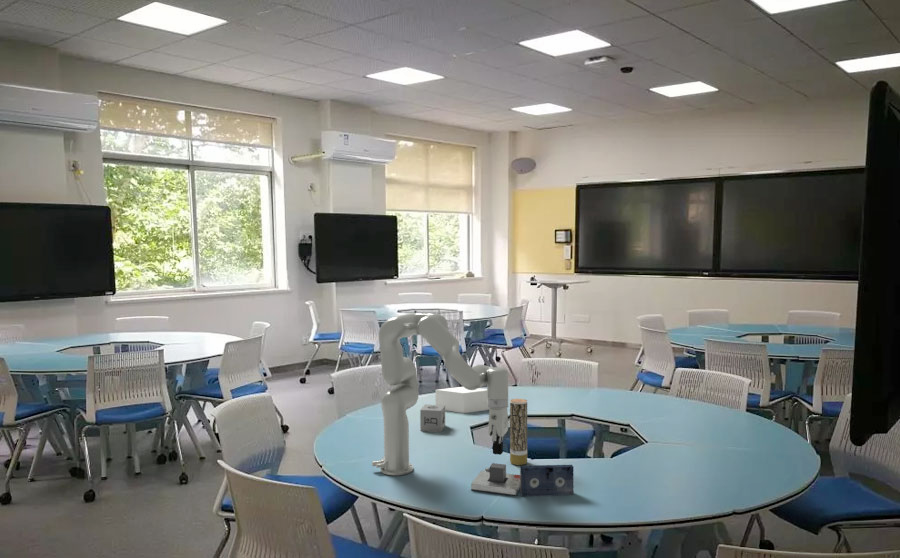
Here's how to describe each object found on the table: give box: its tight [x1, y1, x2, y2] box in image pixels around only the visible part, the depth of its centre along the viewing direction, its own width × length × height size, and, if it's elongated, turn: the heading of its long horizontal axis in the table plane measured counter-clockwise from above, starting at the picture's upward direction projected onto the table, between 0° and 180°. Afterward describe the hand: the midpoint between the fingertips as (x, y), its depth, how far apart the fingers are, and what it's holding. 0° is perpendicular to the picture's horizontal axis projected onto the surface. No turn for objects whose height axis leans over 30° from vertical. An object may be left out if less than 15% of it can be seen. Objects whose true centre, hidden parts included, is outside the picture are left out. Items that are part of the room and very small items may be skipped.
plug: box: [484, 462, 507, 484], centre depth 214 cm, size 7×4×7 cm, turn 71°
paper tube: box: [509, 398, 528, 466], centre depth 236 cm, size 7×7×25 cm
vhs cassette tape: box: [519, 464, 575, 497], centre depth 206 cm, size 18×3×10 cm, turn 92°
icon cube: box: [419, 404, 446, 433], centre depth 283 cm, size 10×10×10 cm
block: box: [435, 386, 490, 414], centre depth 317 cm, size 15×30×11 cm, turn 88°
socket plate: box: [470, 470, 520, 497], centre depth 213 cm, size 16×13×3 cm
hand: (497, 453), depth 213 cm, fingers closed
